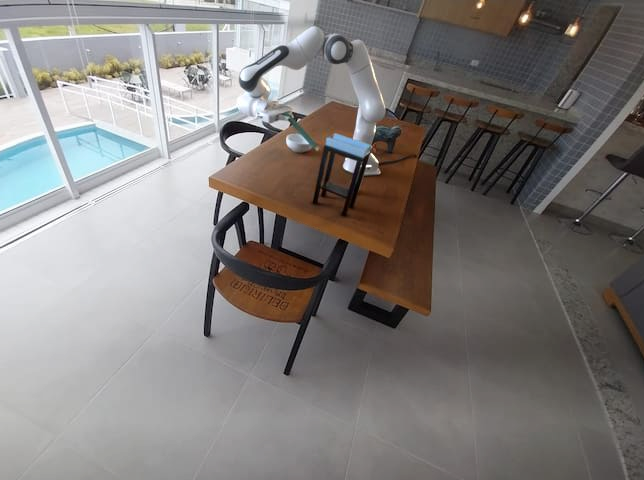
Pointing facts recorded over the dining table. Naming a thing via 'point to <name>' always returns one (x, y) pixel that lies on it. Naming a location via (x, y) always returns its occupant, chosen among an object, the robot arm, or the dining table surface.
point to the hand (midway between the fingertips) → (290, 118)
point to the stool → (336, 188)
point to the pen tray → (349, 145)
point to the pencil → (302, 131)
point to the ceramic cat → (387, 135)
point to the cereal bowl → (297, 143)
